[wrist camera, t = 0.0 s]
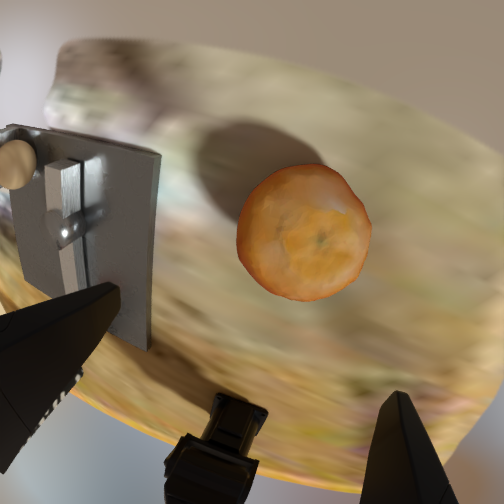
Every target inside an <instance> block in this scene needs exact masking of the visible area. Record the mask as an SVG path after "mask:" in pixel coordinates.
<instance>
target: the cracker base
mask: <svg viewBox="0 0 504 504" xmlns="http://www.w3.org/2000/svg"><path fill="white" fill-rule="evenodd" d="M12 140H22V141H25V142H27V143H28V144H29V145H30V146H31V147H32V148H33V149H34V151H35V154H36V159H37V166H36V170H35V173H34V175H33V177H32V179H31V180H30V181H29V182H28V183H27V184H26V185H25V186H23V187H21V188H19V189H9V192H10V201H11V209H12V216H13V223H14V229H15V235H16V241H17V246H18V251H19V256H20V261H21V266H22V270H23V274H24V279H25V281H27V282H28V283H30V284H31V285H33V286H34V287H36V288H37V289H39V290H40V291H42V292H43V293H45V294H46V295H48V296H49V297H51V298H52V299H53V298H56V297H60V296H63V295H66V293H65V287H64V282H63V276H62V269H61V263H60V256H59V251H57V250H54V249H52V248H51V247H50V246H49V245H48V244H47V243H46V241H45V239H44V238H43V235H42V233H41V229H40V218H41V216H42V214H44V213H45V212H47V204H46V190H45V167H44V166H45V165H47V164H50V163H53V162H55V161H58V160H61V159H67V160H71V161H74V162H78V163H80V206H81V210H82V212H83V214H84V217H85V220H86V231H85V233H84V235H83V236H82V243H83V255H84V265H85V275H86V283H87V288H88V287H91V286H94V285H98V284H101V283H104V282H108V281H110V282H112V283H114V284H116V285H118V286H119V287H120V293H121V308H120V311H119V313H118V314H117V316H116V317H115V319H114V320H113V322H112V323H111V325H110V327H109V328H108V330H107V331H108V332H109V333H111V334H113V335H115V336H117V337H119V338H120V339H122V340H124V341H126V342H128V343H130V344H132V345H134V346H136V347H138V348H140V349H142V350H144V351H146V352H147V351H148V350H149V349H150V347H151V293H152V265H153V245H154V230H155V216H156V204H157V193H158V183H159V174H160V165H161V156H162V155H159V154H155V153H151V152H147V151H143V150H139V149H134V148H130V147H126V146H122V145H118V144H113V143H109V142H105V141H100V140H95V139H91V138H86V137H82V136H77V135H72V134H67V133H62V132H57V131H52V130H46V129H41V128H35V127H30V126H24V125H18V124H10V125H6V128H4V129H0V148H1V147H2V146H3V145H4V144H6V143H7V142H9V141H12ZM0 188H2V186H1V185H0Z"/></svg>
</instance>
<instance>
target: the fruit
mask: <svg viewBox="0 0 504 504" xmlns="http://www.w3.org/2000/svg"><path fill="white" fill-rule="evenodd" d="M371 230H372V225H371V222H370V221H369V218H368V216H367V213H366V210H365V207H364V205H363V203H362V202H361V201H360V200H359V198H358V197H357V196H356V195H355V194H354V193H353V191H352V190H351V188H350V187H349V185H348V184H347V182H346V181H345V179H344V178H343V177H342V176H341V175H340V174H339V173H338V172H336V171H335V170H333V169H331V168H329V167H327V166H324V165H320V164H306V165H297V166H291V167H286V168H283V169H280V170H278V171H276V172H274V173H273V174H271V175H270V176H269V177H267V178H266V179H265V180H264V181H263V182H261V183H260V184H259V185H258V186H257V187H256V188H254V190H253V191H252V192H251V194H250V195H249V197H248V199H247V200H246V202H245V204H244V206H243V208H242V211H241V213H240V217H239V221H238V227H237V239H236V245H237V253H238V257H239V260H240V261H241V263H242V264H243V266H244V267H245V268H246V270H247V271H248V272H249V274H250V275H251V276H252V277H253V278H254V279H255V280H256V282H257V283H259V284H260V285H261V286H262V287H263V288H265V289H266V290H267V291H269V292H270V293H272V294H275V295H278V296H282V297H285V298H287V299H289V300H296V301H302V302H310V301H315V300H318V299H322V298H326V297H329V296H331V295H333V294H335V293H337V292H338V291H340V290H342V289H343V288H345V287H346V286H347V285H349V284H350V283H352V282H354V281H355V280H356V279H357V277H358V276H359V273H360V271H361V269H362V266H363V263H364V261H365V259H366V257H367V253H368V248H369V242H370V237H371Z"/></svg>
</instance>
